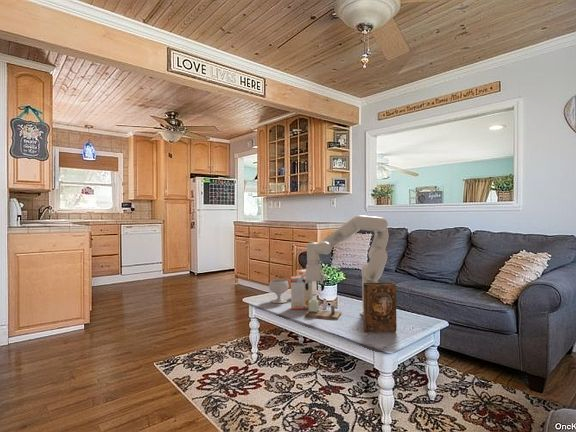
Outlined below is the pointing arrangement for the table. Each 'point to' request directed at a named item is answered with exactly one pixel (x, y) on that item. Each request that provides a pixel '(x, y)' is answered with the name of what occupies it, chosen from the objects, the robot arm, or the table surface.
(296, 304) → the cracker box
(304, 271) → the coffeecake box
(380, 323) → the book
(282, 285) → the chalice
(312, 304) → the sleeve
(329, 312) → the pin board
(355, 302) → the table surface
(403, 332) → the table surface
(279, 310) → the table surface
